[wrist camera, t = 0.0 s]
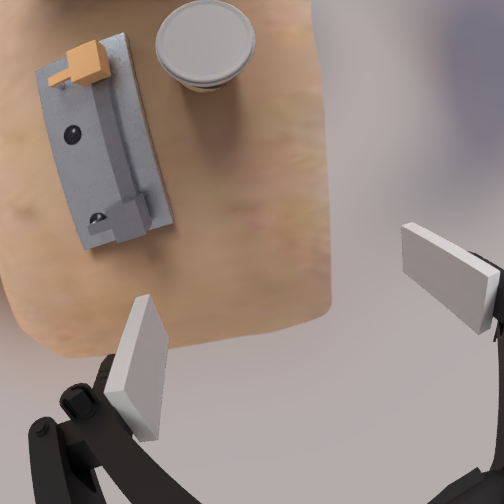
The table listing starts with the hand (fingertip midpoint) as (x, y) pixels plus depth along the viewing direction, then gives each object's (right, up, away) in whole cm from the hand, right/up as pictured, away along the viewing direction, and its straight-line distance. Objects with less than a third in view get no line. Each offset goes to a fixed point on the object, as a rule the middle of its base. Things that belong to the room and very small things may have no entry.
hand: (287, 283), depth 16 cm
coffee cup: (-8, +25, +20) cm, 33 cm away
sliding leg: (-22, +23, +16) cm, 36 cm away
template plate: (-21, +16, +21) cm, 34 cm away
